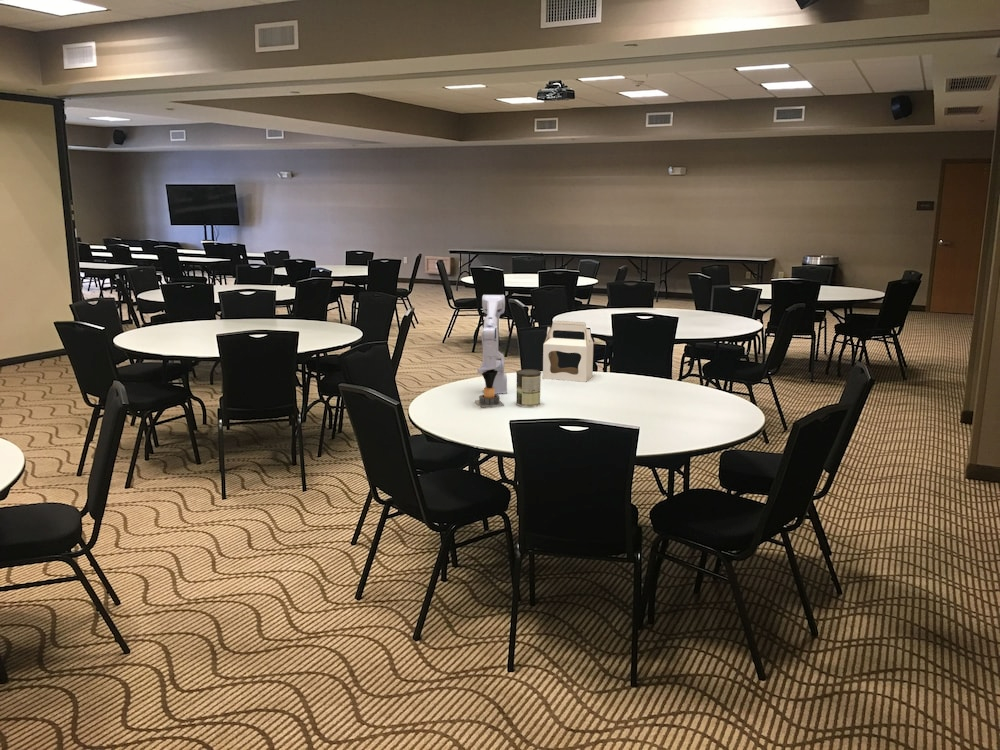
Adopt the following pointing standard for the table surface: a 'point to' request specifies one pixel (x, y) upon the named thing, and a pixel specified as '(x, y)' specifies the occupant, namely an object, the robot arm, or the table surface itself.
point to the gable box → (568, 346)
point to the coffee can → (528, 387)
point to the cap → (489, 392)
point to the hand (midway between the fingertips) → (489, 387)
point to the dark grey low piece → (489, 401)
